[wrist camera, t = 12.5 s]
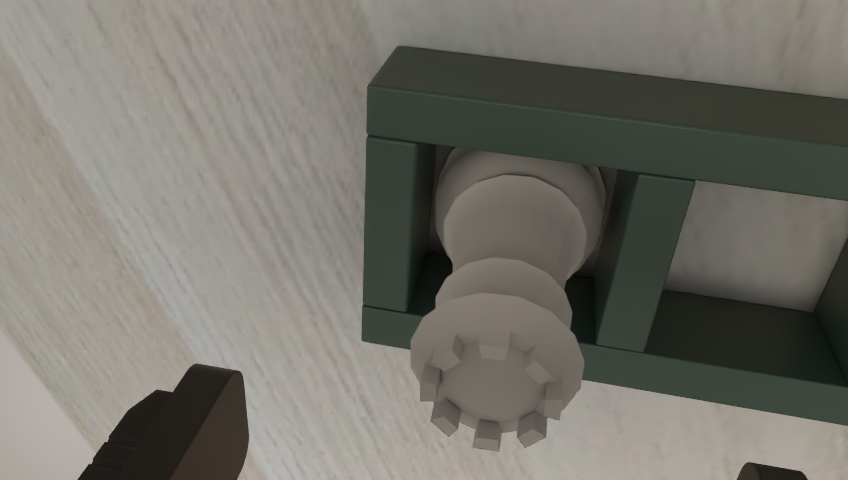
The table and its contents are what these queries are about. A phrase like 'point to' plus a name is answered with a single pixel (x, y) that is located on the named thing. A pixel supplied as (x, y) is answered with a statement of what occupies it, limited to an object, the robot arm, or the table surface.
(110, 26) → the table surface
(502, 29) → the table surface
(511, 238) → the rook chess piece
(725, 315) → the rack
